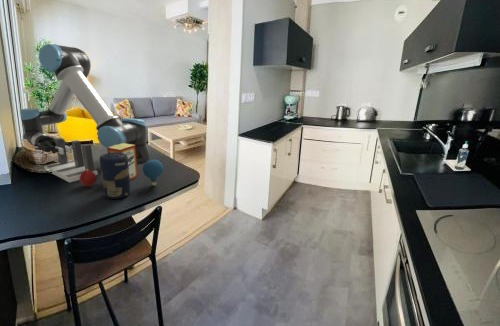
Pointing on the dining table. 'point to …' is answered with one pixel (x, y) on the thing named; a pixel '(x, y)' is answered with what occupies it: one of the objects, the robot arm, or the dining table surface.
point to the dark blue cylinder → (115, 175)
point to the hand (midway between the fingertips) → (66, 151)
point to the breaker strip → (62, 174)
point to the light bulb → (153, 170)
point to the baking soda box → (131, 154)
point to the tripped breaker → (61, 144)
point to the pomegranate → (88, 178)
